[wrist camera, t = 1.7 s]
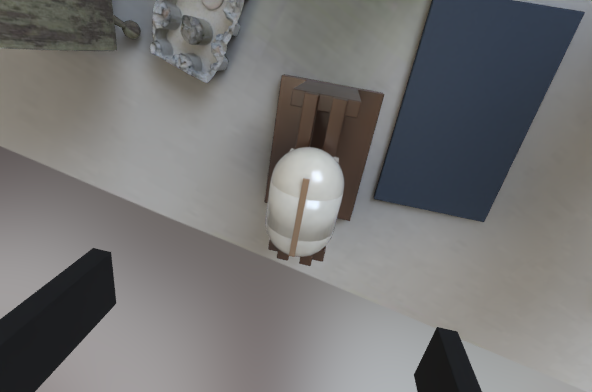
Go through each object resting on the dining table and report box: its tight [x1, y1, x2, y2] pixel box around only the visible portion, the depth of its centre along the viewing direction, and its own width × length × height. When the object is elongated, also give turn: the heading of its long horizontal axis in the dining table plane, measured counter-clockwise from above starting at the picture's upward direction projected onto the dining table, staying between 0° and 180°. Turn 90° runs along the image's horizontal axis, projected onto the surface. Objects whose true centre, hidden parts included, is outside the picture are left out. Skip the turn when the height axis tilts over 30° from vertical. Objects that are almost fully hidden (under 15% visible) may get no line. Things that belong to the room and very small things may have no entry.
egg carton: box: [150, 0, 244, 83], centre depth 29 cm, size 11×8×4 cm
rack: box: [265, 74, 384, 266], centre depth 29 cm, size 10×14×11 cm
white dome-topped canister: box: [265, 147, 345, 257], centre depth 22 cm, size 5×8×5 cm, turn 170°
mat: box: [374, 0, 585, 222], centre depth 31 cm, size 12×20×1 cm, turn 170°
